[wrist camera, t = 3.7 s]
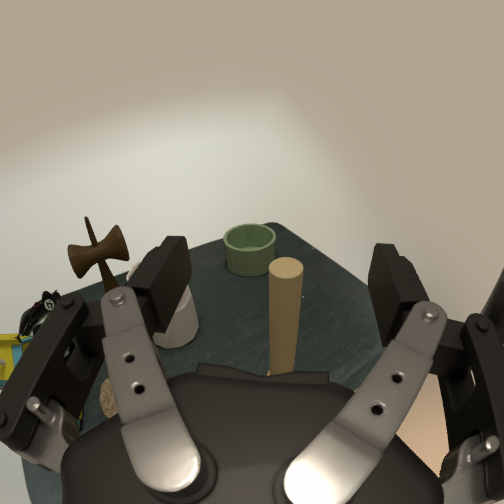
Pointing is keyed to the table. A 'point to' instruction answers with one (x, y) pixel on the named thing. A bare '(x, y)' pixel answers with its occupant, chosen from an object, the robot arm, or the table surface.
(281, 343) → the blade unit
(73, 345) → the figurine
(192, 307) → the vase
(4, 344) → the carton
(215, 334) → the table surface
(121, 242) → the kendama
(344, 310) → the table surface
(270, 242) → the processor bowl
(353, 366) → the table surface
